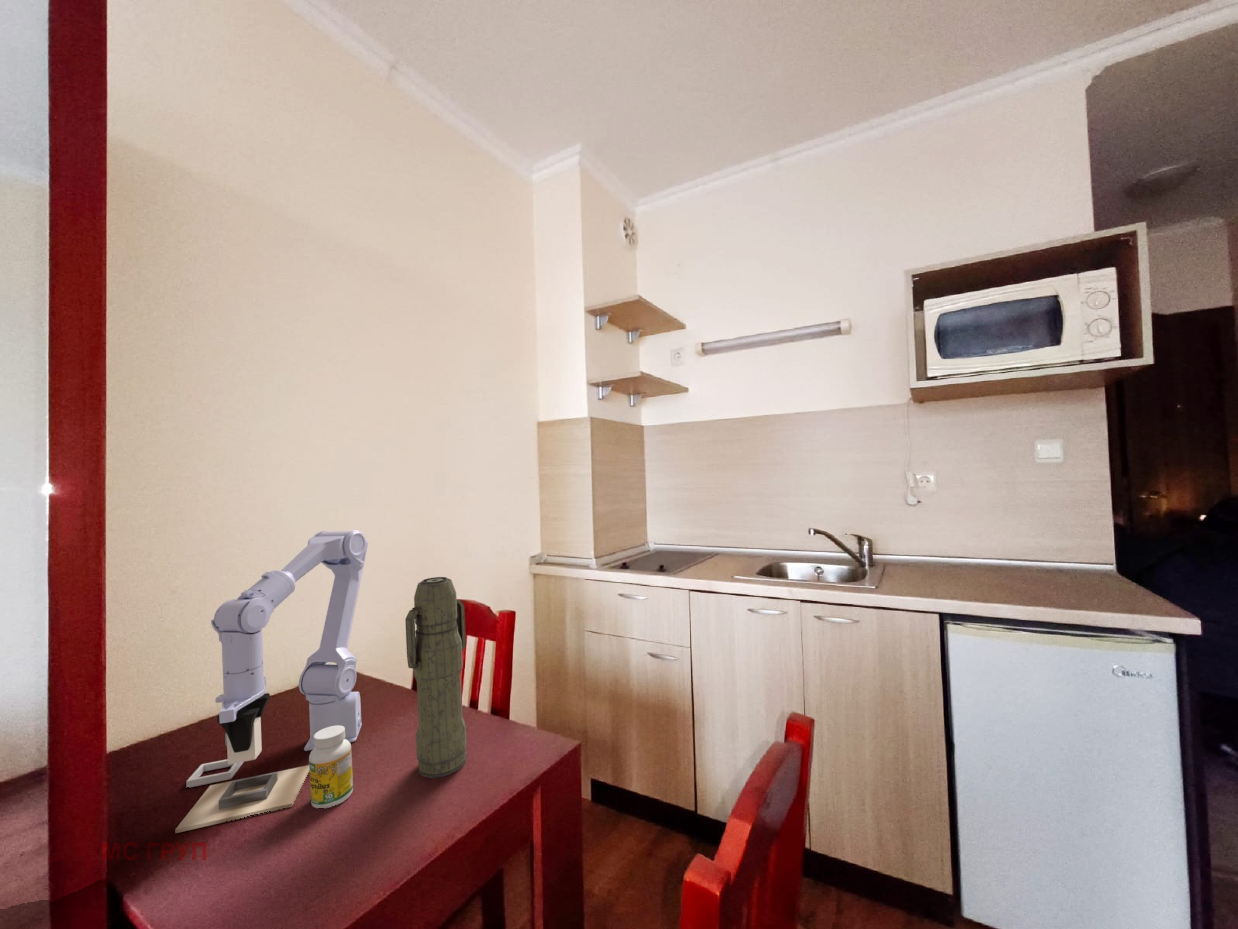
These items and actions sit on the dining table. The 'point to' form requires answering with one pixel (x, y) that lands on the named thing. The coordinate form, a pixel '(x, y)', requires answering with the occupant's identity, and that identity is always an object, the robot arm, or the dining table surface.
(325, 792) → the supplement bottle
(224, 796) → the port board
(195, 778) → the white picture frame
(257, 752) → the plug
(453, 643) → the thermos
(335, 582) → the robot arm
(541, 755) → the dining table surface
